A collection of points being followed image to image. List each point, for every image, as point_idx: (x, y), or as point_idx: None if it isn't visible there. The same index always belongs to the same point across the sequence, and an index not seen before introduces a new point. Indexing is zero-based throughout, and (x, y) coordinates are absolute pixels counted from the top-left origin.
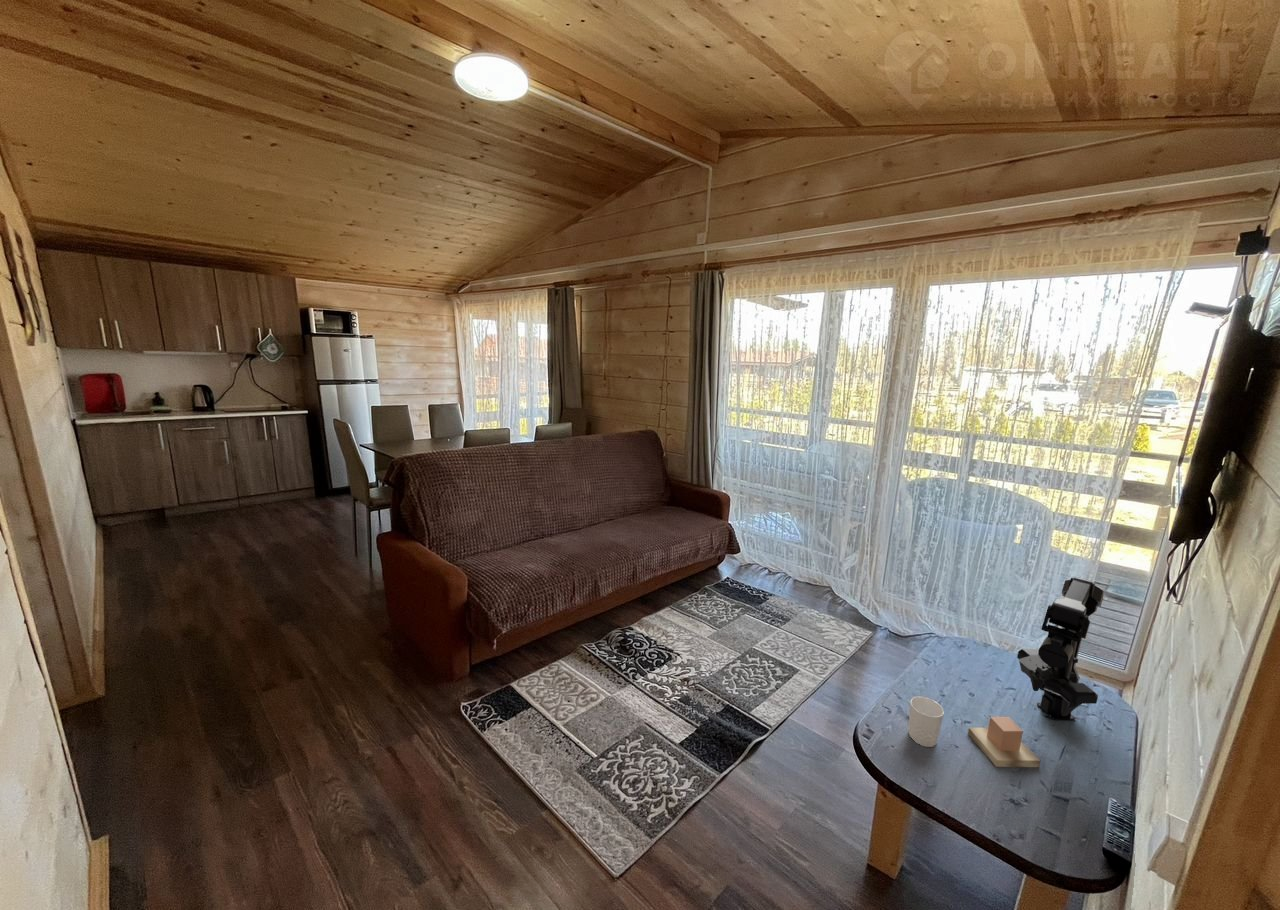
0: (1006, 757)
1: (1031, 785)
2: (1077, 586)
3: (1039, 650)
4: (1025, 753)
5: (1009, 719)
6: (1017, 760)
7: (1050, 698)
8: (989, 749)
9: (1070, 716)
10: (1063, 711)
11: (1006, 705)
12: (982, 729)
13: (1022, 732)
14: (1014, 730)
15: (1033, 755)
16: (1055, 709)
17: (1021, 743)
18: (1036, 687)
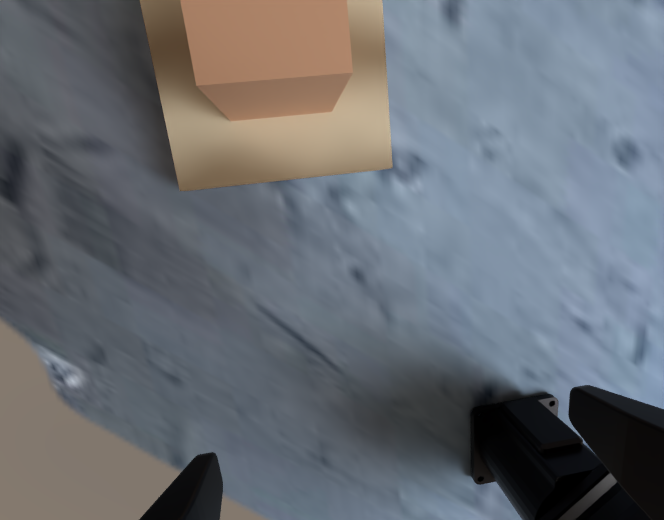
0: (161, 7)
1: (57, 79)
2: None
3: None
4: (217, 143)
5: (324, 58)
6: (154, 64)
7: (557, 460)
8: None
9: (485, 472)
10: (154, 507)
11: (551, 273)
12: (369, 3)
13: (197, 84)
14: (189, 9)
15: (211, 178)
16: (508, 442)
17: (287, 167)
18: (610, 433)
